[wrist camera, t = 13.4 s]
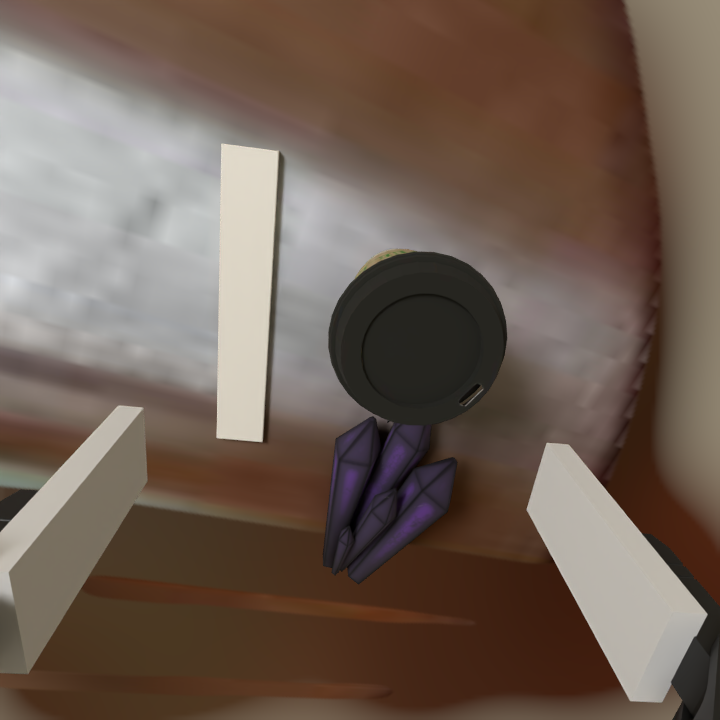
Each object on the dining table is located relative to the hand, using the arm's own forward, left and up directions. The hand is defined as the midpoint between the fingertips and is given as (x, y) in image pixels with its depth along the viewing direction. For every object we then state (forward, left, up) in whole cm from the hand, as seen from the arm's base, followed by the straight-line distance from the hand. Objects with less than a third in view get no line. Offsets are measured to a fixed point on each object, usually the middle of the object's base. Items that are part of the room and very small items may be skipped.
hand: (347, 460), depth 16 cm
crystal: (+5, -17, -25) cm, 31 cm away
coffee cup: (+4, +1, -25) cm, 25 cm away
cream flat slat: (-8, -3, -25) cm, 26 cm away
